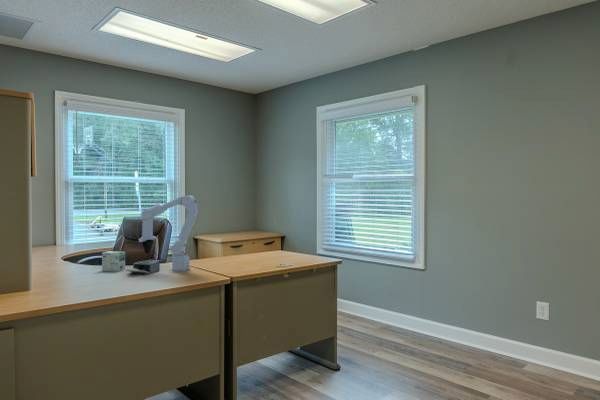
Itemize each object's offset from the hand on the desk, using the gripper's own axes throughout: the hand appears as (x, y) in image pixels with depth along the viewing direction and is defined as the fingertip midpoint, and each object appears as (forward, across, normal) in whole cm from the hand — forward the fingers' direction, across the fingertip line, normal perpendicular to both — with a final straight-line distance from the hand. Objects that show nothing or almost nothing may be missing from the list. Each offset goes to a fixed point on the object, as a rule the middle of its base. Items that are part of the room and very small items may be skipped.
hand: (147, 252), depth 248 cm
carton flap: (+9, +14, +5) cm, 17 cm away
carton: (+9, +8, +5) cm, 14 cm away
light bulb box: (+10, +10, -15) cm, 20 cm away
